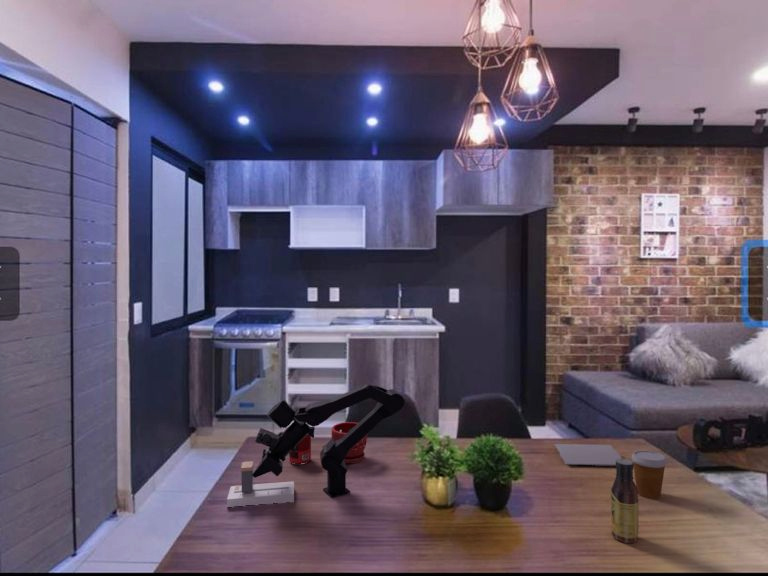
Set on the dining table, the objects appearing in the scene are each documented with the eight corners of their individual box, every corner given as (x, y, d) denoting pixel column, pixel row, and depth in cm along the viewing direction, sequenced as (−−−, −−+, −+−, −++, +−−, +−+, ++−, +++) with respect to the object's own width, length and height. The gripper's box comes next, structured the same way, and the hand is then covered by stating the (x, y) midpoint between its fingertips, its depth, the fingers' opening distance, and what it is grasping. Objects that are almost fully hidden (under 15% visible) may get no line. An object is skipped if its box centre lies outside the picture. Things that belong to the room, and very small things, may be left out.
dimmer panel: (294, 489, 152) (293, 481, 152) (294, 502, 143) (293, 493, 143) (231, 494, 149) (230, 486, 149) (227, 507, 140) (226, 499, 140)
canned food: (313, 457, 179) (313, 427, 179) (307, 465, 171) (307, 434, 171) (293, 456, 180) (292, 427, 180) (286, 465, 172) (286, 434, 172)
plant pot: (325, 464, 173) (325, 430, 173) (339, 451, 186) (339, 420, 185) (360, 468, 169) (360, 433, 169) (372, 455, 182) (372, 423, 182)
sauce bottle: (614, 529, 127) (614, 454, 127) (640, 537, 123) (641, 459, 123) (607, 539, 122) (607, 461, 122) (634, 548, 118) (635, 467, 118)
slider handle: (253, 485, 148) (253, 461, 148) (252, 492, 143) (252, 467, 143) (242, 486, 147) (242, 462, 147) (241, 493, 143) (240, 468, 143)
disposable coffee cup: (630, 497, 146) (631, 457, 146) (631, 485, 154) (631, 447, 154) (667, 504, 141) (667, 463, 141) (665, 491, 150) (666, 452, 150)
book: (549, 452, 185) (549, 442, 185) (611, 453, 184) (611, 443, 184) (561, 468, 170) (561, 457, 170) (629, 469, 168) (629, 458, 168)
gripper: (273, 411, 155) (237, 448, 154) (270, 429, 137) (229, 470, 135) (297, 434, 157) (262, 471, 155) (298, 455, 139) (258, 496, 137)
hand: (253, 476), depth 146 cm, fingers closed, pressing on slider handle
